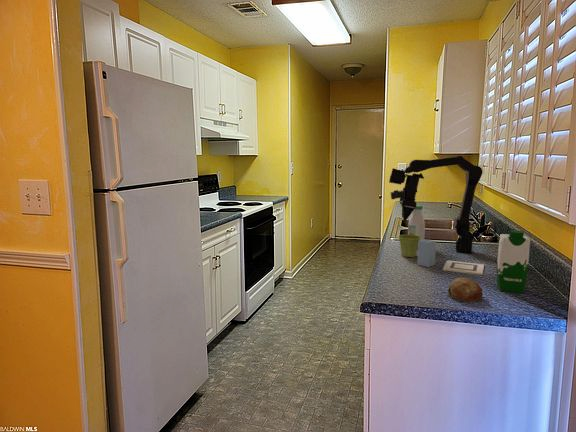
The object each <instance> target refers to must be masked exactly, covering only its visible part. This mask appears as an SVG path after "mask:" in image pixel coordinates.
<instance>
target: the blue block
mask: <svg viewBox="0 0 576 432" xmlns="http://www.w3.org/2000/svg"><path fill="white" fill-rule="evenodd" d="M436 251H437V240H433V239H427V238H424V239H423V240H420V241H419V242H418V248H417V262H416V264H417V265H416V266H420V265H422V267H425V266H426V268H431V267H433V265H434V266H435V265H436V255H437V253H436ZM430 266H431V267H430Z"/></svg>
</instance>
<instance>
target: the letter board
mask: <svg viewBox="0 0 576 432" xmlns="http://www.w3.org/2000/svg"><path fill="white" fill-rule="evenodd" d="M484 267H485V264H482V263H474V262H465V261H454V260H446V262H445V263H444V266H443V268H442V271H444V272H445V271H446V272H454V273H462V274H470V275H478V276H479V275H480V276H483V274H484Z"/></svg>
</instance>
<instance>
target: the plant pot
mask: <svg viewBox="0 0 576 432" xmlns="http://www.w3.org/2000/svg"><path fill="white" fill-rule="evenodd" d="M397 237H398V238H399V239H398V240H399V245H400V253H401V254H400V255H401V256H402V257H405V258H410V257H411V258H414V257H416V256H417V253H418V248H417V247H418V242H419V239H420V238H421V237H420V236H417V235H408V234H399V235H398V236H397Z"/></svg>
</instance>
